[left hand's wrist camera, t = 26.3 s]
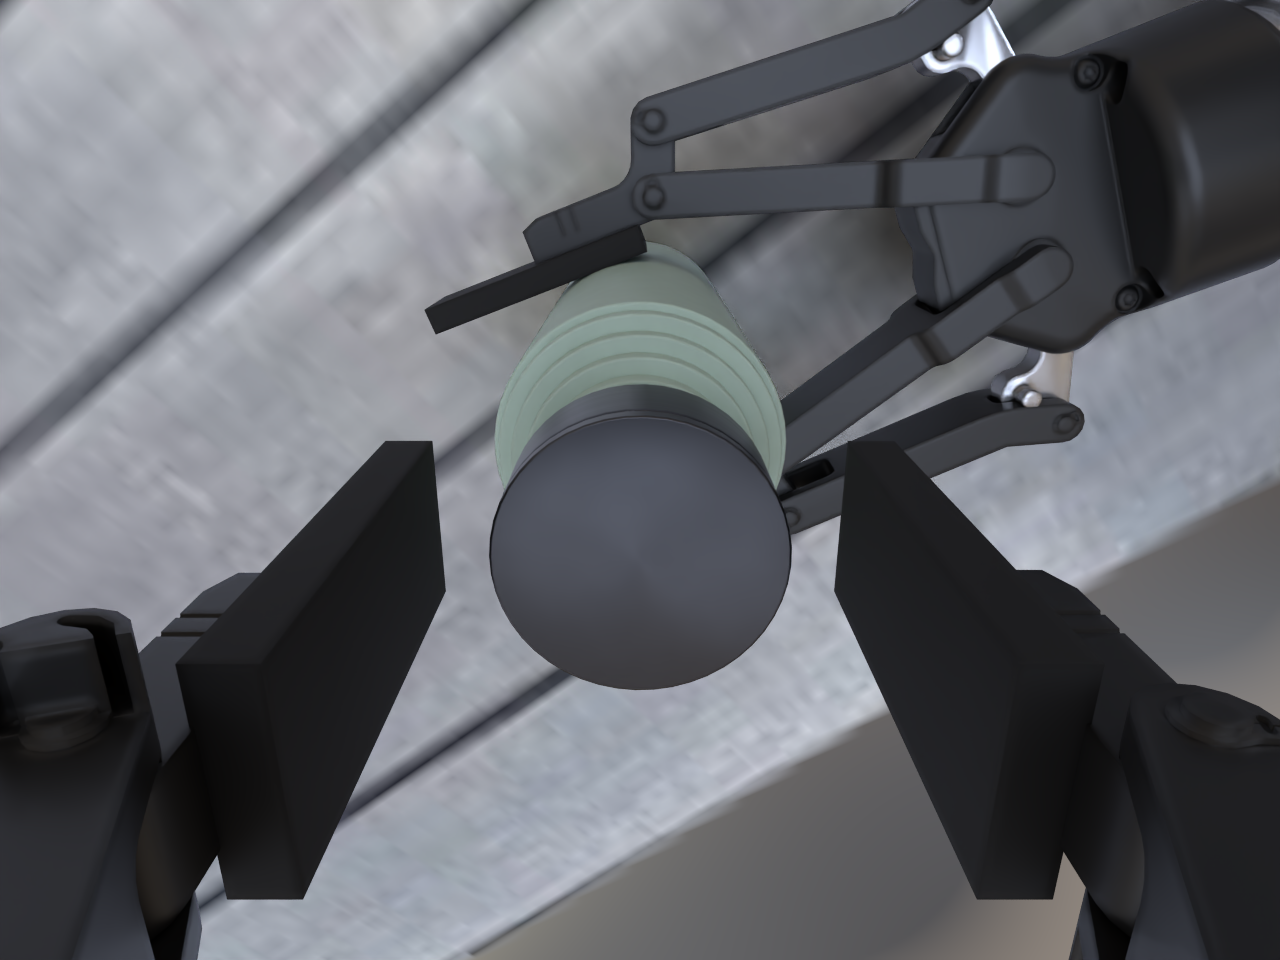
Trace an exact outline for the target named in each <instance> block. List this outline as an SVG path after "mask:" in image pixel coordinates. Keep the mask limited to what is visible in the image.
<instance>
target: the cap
mask: <svg viewBox="0 0 1280 960" xmlns="http://www.w3.org/2000/svg"><path fill="white" fill-rule="evenodd" d="M791 557H792V545H791V536H790V528H789V525H788V521H787V517H786V513H785V510H784V508H783V506H782V503H781V501H780V498H779V496H778V494H777V491H776V489H775V487H774V484H773V482H772V480H771V477H770V475H769V473H768V470H767V468H766V466H765V463H764V461H763V459H762V456H761V454H760V452H759V451H758V449H757V447H756V446H755V444H754V442H753V441H752V439H751V438H750V437H749V436H748V434H747V433H746V432H745V431H744V430H743V428H742V427H741V426H740V425H739V424H738V423H737V422H736V421H735V420H733V419H732V418H731V417H730V416H729V415H728V414H727V413H725V412H724V411H722V410H721V409H720V408H718V407H717V406H715V405H714V404H712V403H710V402H708V401H706V400H704V399H703V398H701V397H699V396H696V395H694V394H691V393H688V392H685V391H683V390H679V389H675V388H671V387H666V386H659V385H649V384H632V385H622V386H615V387H609V388H606V389H602V390H599V391H596V392H592V393H590V394H587V395H585V396H583V397H581V398H578V399H576V400H574V401H573V402H571V403H569V404H568V405H566V406H564V407H563V408H561V409H560V410H558V411H557V412H556V413H555V414H553V415H552V416H551V417H550V418H548V419H547V420H546V421H545V422H544V423H543V424H542V425H541V426H540V427H539V428H538V430H537V431H536V432H535V433H534V434H533V436H532V437H531V438H530V440H529V441H528V443H527V444H526V445H525V447H524V449H523V451H522V453H521V455H520V457H519V458H518V460H517V462H516V465H515V467H514V470H513V472H512V474H511V477H510V479H509V481H508V484H507V486H506V488H505V491H504V493H503V496H502V498H501V500H500V502H499V505H498V508H497V511H496V514H495V517H494V520H493V525H492V530H491V535H490V549H489V559H490V569H491V576H492V580H493V584H494V588H495V592H496V594H497V597H498V599H499V602H500V604H501V607H502V609H503V610H504V612H505V614H506V616H507V617H508V619H509V621H510V623H511V624H512V625H513V627H514V628H515V629H516V631H517V632H518V633H519V635H520V636H521V637H522V638H523V639H524V640H525V641H526V642H527V644H528V645H529V646H530V647H531V648H532V649H533V650H534V651H536V652H537V653H538V654H539V655H541V656H542V657H543V658H545V659H546V660H547V661H548V662H550V663H551V664H553V665H555V666H556V667H558V668H560V669H561V670H563V671H565V672H567V673H569V674H571V675H573V676H576V677H578V678H580V679H583V680H586V681H589V682H592V683H595V684H598V685H603V686H608V687H613V688H619V689H630V690H654V689H661V688H668V687H674V686H678V685H682V684H686V683H690V682H693V681H695V680H698V679H700V678H703V677H706V676H708V675H710V674H712V673H714V672H716V671H718V670H720V669H722V668H723V667H725V666H726V665H728V664H729V663H731V662H732V661H734V660H735V659H737V658H738V657H739V656H741V655H742V654H743V653H744V652H745V651H746V650H747V649H748V648H750V647H751V646H752V645H753V644H754V643H755V641H756V640H757V639H758V638H759V637H760V636H761V635H762V634H763V632H764V631H765V630H766V628H767V627H768V625H769V624H770V622H771V621H772V619H773V618H774V616H775V614H776V612H777V610H778V608H779V606H780V604H781V602H782V600H783V597H784V594H785V591H786V588H787V585H788V580H789V575H790V569H791Z"/></svg>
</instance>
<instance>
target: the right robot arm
mask: <svg viewBox="0 0 1280 960" xmlns="http://www.w3.org/2000/svg"><path fill="white" fill-rule="evenodd" d="M992 1H993V0H914V1H913V2H911V3H910V4H909V5H907V6H906V7H905V8H904V9H902V10H901V11H900V12H898V13H897V14H896V15H895V16H893V17H890V18H887V19H884V20H881V21H877V22H874V23H871V24H868V25H865V26H862V27H859V28H856V29H853V30H850V31H847V32H844V33H841V34H838V35H835V36H832V37H829V38H826V39H823V40H820V41H817V42H814V43H811V44H807V45H804V46H801V47H798V48H795V49H792V50H789V51H786V52H783V53H780V54H777V55H774V56H771V57H768V58H765V59H762V60H759V61H756V62H753V63H750V64H747V65H744V66H740V67H737V68H734V69H731V70H728V71H725V72H722V73H719V74H716V75H713V76H710V77H707V78H704V79H701V80H698V81H695V82H692V83H689V84H686V85H683V86H680V87H677V88H673V89H670V90H667V91H664V92H661V93H658V94H655V95H652V96H649V97H646V98H645V99H643V100H641V101H639V102H638V104H637V105H636V106H635V108H634V109H633V112H632V115H631V166H630V169H629V172H628V174H627V176H626V177H625V179H624V180H623V181H622V182H621V183H620V184H619V185H617V186H615V187H613V188H611V189H608V190H606V191H603V192H601V193H598V194H596V195H593V196H591V197H588V198H586V199H583V200H581V201H578V202H576V203H573V204H571V205H568V206H566V207H563V208H561V209H558V210H556V211H553V212H551V213H549V214H546V215H544V216H541V217H539V218H537V219H535V220H534V221H533V222H532V223H531V224H530V225H529V226H528V227H527V228H526V229H525V230H524V231H523V234H524V237H525V239H526V242H527V244H528V246H529V249H530V251H531V254H532V256H533V259H534V262H532V263H529V264H527V265H524V266H521V267H519V268H516V269H514V270H511V271H509V272H506V273H504V274H501V275H499V276H496V277H494V278H491V279H489V280H486V281H484V282H481V283H478V284H476V285H473V286H471V287H468V288H466V289H463V290H461V291H458V292H456V293H453V294H451V295H448V296H446V297H444V298H442V299H441V300H439V301H438V302H436V303H435V304H433V305H431V306H430V307H428V308H427V309H425V312H426V314H427V317H428V319H429V321H430V323H431V325H432V327H433V330H434V332H435V334H438V333H441V332H444V331H446V330H449V329H451V328H454V327H456V326H459V325H462V324H464V323H467V322H469V321H472V320H474V319H477V318H479V317H482V316H485V315H487V314H490V313H492V312H495V311H497V310H500V309H503V308H505V307H508V306H510V305H513V304H515V303H518V302H521V301H523V300H526V299H528V298H531V297H533V296H536V295H538V294H541V293H544V292H546V291H549V290H551V289H554V288H556V287H559V286H562V285H564V284H567V283H569V282H572V281H574V280H577V279H579V278H582V277H585V276H587V275H590V274H592V273H595V272H597V271H600V270H602V269H605V268H607V267H610V266H613V265H615V264H618V263H621V262H623V261H626V260H628V259H631V258H633V257H636V256H638V255H641V254H644V253H646V252H647V244H646V241H645V239H644V236H643V233H642V230H641V227H640V225H642V224H644V223H647V222H649V221H652V220H657V219H675V218H693V217H712V216H730V215H749V214H767V213H785V212H804V211H822V210H841V209H859V208H892V207H894V208H895V212H896V216H897V219H898V223H899V227H900V229H901V231H902V232H903V234H904V236H905V238H906V239H907V241H908V243H909V244H910V246H911V248H912V250H913V281H914V284H915V288H916V292H917V294H916V295H915V296H914V297H912V298H911V299H910V300H908V301H907V302H906V303H904V304H903V305H902V306H900V307H899V308H898V309H897V310H895V311H894V312H893V314H892V315H891V317H890V319H889V320H888V321H887V322H886V323H885V324H884V325H882V326H881V327H880V328H878V329H877V330H876V331H874V332H873V333H872V334H870V335H869V336H867V337H866V338H865V339H863V340H862V341H861V342H859V343H858V344H857V345H855V346H854V347H853V348H851V349H850V350H849V351H847V352H846V353H845V354H843V355H842V356H840V357H839V358H838V359H836V360H835V361H834V362H832V363H831V364H830V365H828V366H827V367H826V368H824V369H823V370H822V371H820V372H819V373H817V374H816V375H815V376H813V377H812V378H811V379H809V380H808V381H807V382H805V383H804V384H803V385H801V386H800V387H799V388H797V389H796V390H794V391H793V392H792V393H790V394H789V395H788V396H786V397H785V398H784V399H782V400H781V401H780V402H781V405H782V410H783V415H784V420H785V430H786V450H785V460H784V465H783V470H782V474H781V478H780V481H779V483H778V486H777V489H776V491H777V494H778V496H779V498H780V501H781V503H782V506H783V508H784V510H785V513H786V517H787V521H788V525H789V528H790V535H791V534H796V533H798V532H801V531H803V530H806V529H808V528H811V527H813V526H815V525H818V524H820V523H823V522H825V521H828V520H830V519H832V518H835V517H837V516H840V515H841V510H842V499H843V488H844V477H845V466H846V454H847V443H846V444H843V445H841V446H839V447H836V448H834V449H831V450H829V451H827V452H824V453H822V454H820V455H817V456H815V457H813V458H810V459H808V460H806V461H803V462H801V461H802V460H804V459H805V458H807V457H808V456H809V455H811V454H812V453H814V452H815V451H816V450H818V449H819V448H821V447H822V446H823V445H825V444H826V443H828V442H829V441H830V440H832V439H833V438H835V437H836V436H837V435H839V434H840V433H842V432H843V431H844V430H846V429H847V428H849V427H850V426H851V425H853V424H854V423H856V422H857V421H858V420H860V419H861V418H863V417H864V416H865V415H867V414H868V413H869V412H871V411H872V410H874V409H875V408H876V407H878V406H879V405H881V404H882V403H883V402H885V401H886V400H888V399H889V398H890V397H892V396H893V395H895V394H896V393H897V392H899V391H900V390H902V389H903V388H904V387H906V386H907V385H909V384H910V383H911V382H913V381H914V380H916V379H917V378H918V377H920V376H921V375H923V374H924V373H925V372H927V371H928V370H930V369H931V368H933V367H935V366H939V365H944V364H946V363H949V362H951V361H953V360H954V359H956V358H957V357H959V356H960V355H962V354H963V353H964V352H966V351H967V350H969V349H970V348H971V347H973V346H974V345H976V344H977V343H978V342H980V341H981V340H983V339H984V338H985V337H987V336H989V337H992V338H996V339H999V340H1003V341H1006V342H1010V343H1013V344H1017V345H1021V346H1024V347H1028V350H1027V354H1026V356H1025V357H1024V359H1023V360H1022V361H1021V362H1020V363H1019V364H1018V365H1016V366H1015V367H1012V368H1009V369H1007V370H1004V371H1002V372H1000V373H999V374H997V375H995V377H994V378H993V380H992V385H991V388H990V389H982V390H977V391H973V392H969V393H965V394H963V395H960V396H957V397H954V398H952V399H949V400H947V401H945V402H942V403H940V404H938V405H935V406H933V407H931V408H928V409H926V410H923V411H921V412H919V413H916V414H914V415H912V416H909V417H907V418H905V419H902V420H900V421H898V422H895V423H893V424H890V425H888V426H886V427H883V428H881V429H879V430H876V431H874V432H872V433H869V434H867V435H864V436H862V437H860V438H857V439H855V440H853V441H895V442H896V443H897V444H898V445H899V446H900V448H901V449H902V450H903V451H904V452H905V453H906V454H907V455H908V456H909V457H910V458H911V459H912V460H913V461H914V462H915V463H916V464H917V466H918V467H919V468H920V469H921V470H922V471H923V472H924V473H925V474H926V475H927V476H928V477H929V478H932V477H935V476H937V475H939V474H942V473H944V472H947V471H949V470H952V469H954V468H956V467H959V466H961V465H964V464H966V463H969V462H971V461H973V460H976V459H978V458H981V457H983V456H986V455H988V454H991V453H993V452H995V451H998V450H1000V449H1003V448H1005V447H1010V446H1022V445H1035V444H1048V443H1060V442H1066V441H1070V440H1072V439H1073V438H1075V437H1076V436H1077V435H1078V434H1079V433H1080V431H1081V430H1082V428H1083V425H1084V414H1083V413H1082V411H1081V409H1080V408H1078V407H1076V406H1075V405H1073V404H1071V403H1069V395H1070V384H1071V374H1072V363H1073V353H1074V351H1075V350H1077V349H1079V348H1081V347H1083V346H1084V345H1086V344H1087V343H1088V342H1089V341H1091V340H1092V339H1093V337H1094V336H1095V335H1096V334H1097V333H1098V332H1100V331H1101V330H1102V329H1103V328H1104V327H1106V326H1107V325H1108V324H1110V323H1111V322H1113V321H1114V320H1116V319H1118V318H1120V317H1122V316H1125V315H1128V314H1131V313H1135V312H1138V311H1142V310H1145V309H1148V308H1151V307H1155V306H1158V305H1160V304H1163V303H1166V302H1169V301H1172V300H1174V299H1177V298H1180V297H1183V296H1186V295H1189V294H1191V293H1194V292H1197V291H1200V290H1203V289H1205V288H1208V287H1211V286H1214V285H1217V284H1220V283H1222V282H1225V281H1228V280H1231V279H1234V278H1237V277H1239V276H1242V275H1245V274H1248V273H1251V272H1253V271H1256V270H1259V269H1262V268H1265V267H1267V266H1269V265H1271V264H1273V263H1274V262H1276V261H1277V260H1278V259H1280V0H1206V1H1201V2H1197V3H1195V4H1192V5H1189V6H1187V7H1184V8H1182V9H1179V10H1177V11H1174V12H1172V13H1169V14H1167V15H1164V16H1162V17H1159V18H1156V19H1154V20H1151V21H1149V22H1146V23H1144V24H1141V25H1139V26H1136V27H1134V28H1131V29H1129V30H1126V31H1124V32H1121V33H1118V34H1116V35H1113V36H1111V37H1108V38H1106V39H1103V40H1101V41H1098V42H1096V43H1093V44H1091V45H1088V46H1085V47H1083V48H1080V49H1078V50H1075V51H1073V52H1070V53H1068V54H1065V55H1062V56H1059V57H1045V56H1039V55H1035V54H1019V55H1015V54H1014V52H1013V50H1012V48H1011V46H1010V44H1009V43H1008V41H1007V39H1006V37H1005V35H1004V33H1003V31H1002V29H1001V27H1000V26H999V24H998V22H997V20H996V18H995V16H994V14H993V12H992V10H991V9H990V7H989V6H990V5H991V4H992ZM910 62H911V63H912V65H913V66H914V68H915V69H916V70H917V72H918V73H920V74H922V75H923V76H927V77H933V76H938V75H941V74H944V73H947V72H949V71H957V72H961V73H962V74H964V75H965V76H966V77H967V78H968V79H969V81H970V83H969V84H968V86H967V87H966V89H965V90H964V91H963V93H962V94H961V95H960V97H959V98H958V100H957V101H956V102H955V104H954V105H953V107H952V108H951V109H950V111H949V112H948V114H947V115H946V116H945V118H944V119H943V120H942V122H941V123H940V125H939V126H938V127H937V129H936V130H935V132H934V133H933V134H932V136H931V137H930V139H929V140H928V141H927V143H926V144H925V145H924V147H923V148H922V150H921V151H920V152H919V154H918V155H917V157H916V158H915V159H900V160H882V161H864V162H847V163H829V164H811V165H792V166H774V167H756V168H738V169H720V170H702V171H684V172H675V141H677V140H680V139H683V138H686V137H689V136H693V135H696V134H699V133H702V132H705V131H708V130H711V129H714V128H717V127H721V126H724V125H727V124H730V123H733V122H736V121H739V120H742V119H745V118H748V117H752V116H755V115H758V114H761V113H764V112H767V111H770V110H773V109H776V108H780V107H783V106H786V105H789V104H792V103H795V102H798V101H801V100H804V99H807V98H811V97H814V96H817V95H820V94H823V93H826V92H829V91H832V90H835V89H839V88H842V87H845V86H848V85H851V84H854V83H857V82H860V81H863V80H867V79H870V78H872V77H875V76H877V75H880V74H883V73H885V72H888V71H890V70H893V69H895V68H897V67H900V66H902V65H905V64H907V63H910ZM800 462H801V463H800Z"/></svg>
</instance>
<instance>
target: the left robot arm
mask: <svg viewBox="0 0 1280 960" xmlns="http://www.w3.org/2000/svg"><path fill="white" fill-rule="evenodd" d="M445 592H446V588H445V577H444V566H443V555H442V544H441V533H440V521H439V510H438V499H437V488H436V477H435V466H434V454H433V443H432V441H385V442H384V443H383V444H382V445H381V446H380V448H379V449H378V450H377V451H376V452H375V453H374V454H373V455H372V456H371V457H370V458H369V459H368V460H367V461H366V462H365V463H364V464H363V466H362V467H361V468H360V469H359V470H358V471H357V472H356V473H355V474H354V475H353V476H352V477H351V478H350V479H349V480H348V481H347V482H346V484H345V485H344V486H343V487H342V488H341V489H340V490H339V491H338V492H337V493H336V494H335V495H334V496H333V497H332V498H331V499H330V500H329V502H328V503H327V504H326V505H325V506H324V507H323V508H322V509H321V510H320V511H319V512H318V513H317V514H316V515H315V516H314V517H313V518H312V520H311V521H310V522H309V523H308V524H307V525H306V526H305V527H304V528H303V529H302V530H301V531H300V532H299V533H298V534H297V535H296V536H295V538H294V539H293V540H292V541H291V542H290V543H289V544H288V545H287V546H286V547H285V548H284V549H283V550H282V551H281V552H280V553H279V554H278V556H277V557H276V558H275V559H274V560H273V561H272V562H271V563H270V564H269V565H268V566H267V567H266V568H265V569H264V570H263V571H262V572H261V573H237V574H236V575H234V576H232V577H230V578H228V579H226V580H224V581H222V582H220V583H219V584H217V585H215V586H213V587H211V588H209V589H207V590H205V591H203V592H202V593H201V594H200V595H199V596H198V597H197V598H196V599H195V600H194V601H193V602H192V603H191V604H190V605H189V606H188V607H187V608H186V609H185V610H184V611H182V612H181V613H180V618H175V619H174V620H173V621H172V622H171V623H170V624H169V625H168V626H167V627H166V628H165V629H164V630H163V631H162V632H161V637H155V638H154V639H153V640H152V641H151V642H150V643H149V644H148V645H147V646H146V647H145V648H144V649H143V650H142V651H141V652H140V653H139V654H138V649H137V645H136V641H135V637H134V633H133V628H132V624H131V620H130V619H128V618H127V617H125V616H124V615H122V614H121V613H119V612H118V611H111V610H104V609H97V608H90V609H75V610H63V611H58V612H54V613H49V614H44V615H39V616H35V617H30V618H28V619H25V620H22V621H19V622H16V623H13V624H10V625H8V626H5V627H2V628H0V960H197V958H198V951H199V945H200V938H201V932H202V925H201V917H200V910H199V906H198V902H197V898H196V893H195V890H196V888H197V887H198V885H199V883H200V882H201V880H202V879H203V877H204V875H205V874H206V872H207V870H208V869H209V867H210V866H211V864H212V862H213V861H214V859H215V858H216V856H218V860H219V865H220V869H221V874H222V878H223V883H224V887H225V892H226V896H227V899H303V898H304V896H305V894H306V892H307V890H308V888H309V885H310V883H311V881H312V879H313V877H314V875H315V872H316V870H317V868H318V866H319V864H320V862H321V859H322V857H323V855H324V853H325V851H326V849H327V847H328V844H329V842H330V840H331V838H332V836H333V834H334V831H335V829H336V827H337V825H338V823H339V821H340V818H341V816H342V814H343V812H344V810H345V808H346V805H347V803H348V801H349V799H350V797H351V795H352V793H353V790H354V788H355V786H356V784H357V782H358V780H359V777H360V775H361V773H362V771H363V769H364V767H365V764H366V762H367V760H368V758H369V756H370V754H371V751H372V749H373V747H374V745H375V743H376V741H377V739H378V736H379V734H380V732H381V730H382V728H383V726H384V723H385V721H386V719H387V717H388V715H389V713H390V710H391V708H392V706H393V704H394V702H395V700H396V698H397V695H398V693H399V691H400V689H401V687H402V685H403V682H404V680H405V678H406V676H407V674H408V672H409V669H410V667H411V665H412V663H413V661H414V659H415V656H416V654H417V652H418V650H419V648H420V646H421V644H422V641H423V639H424V637H425V635H426V633H427V631H428V628H429V626H430V624H431V622H432V620H433V618H434V615H435V613H436V611H437V609H438V607H439V605H440V602H441V600H442V598H443V596H444V594H445ZM834 592H835V594H836V596H837V598H838V600H839V602H840V605H841V607H842V609H843V611H844V613H845V615H846V618H847V620H848V622H849V624H850V626H851V628H852V631H853V633H854V635H855V637H856V639H857V641H858V644H859V646H860V648H861V650H862V652H863V654H864V656H865V659H866V661H867V663H868V665H869V667H870V669H871V672H872V674H873V676H874V678H875V680H876V682H877V685H878V687H879V689H880V691H881V693H882V695H883V698H884V700H885V702H886V704H887V706H888V708H889V710H890V713H891V715H892V717H893V719H894V721H895V723H896V725H897V728H898V730H899V732H900V734H901V736H902V738H903V741H904V743H905V745H906V747H907V749H908V751H909V754H910V756H911V758H912V760H913V762H914V764H915V767H916V769H917V771H918V773H919V775H920V777H921V779H922V782H923V784H924V786H925V788H926V790H927V792H928V795H929V797H930V799H931V801H932V803H933V805H934V808H935V810H936V812H937V814H938V816H939V818H940V821H941V823H942V825H943V827H944V829H945V831H946V834H947V836H948V838H949V840H950V842H951V844H952V846H953V849H954V851H955V853H956V855H957V857H958V859H959V862H960V864H961V866H962V868H963V870H964V872H965V875H966V877H967V879H968V881H969V883H970V885H971V888H972V890H973V892H974V894H975V896H976V898H977V899H1053V896H1054V892H1055V887H1056V883H1057V878H1058V873H1059V869H1060V865H1061V860H1062V856H1063V851H1064V853H1065V855H1066V856H1067V858H1068V859H1069V861H1070V863H1071V864H1072V866H1073V867H1074V869H1075V871H1076V872H1077V874H1078V875H1079V877H1080V879H1081V880H1082V882H1083V884H1084V885H1085V887H1086V889H1085V893H1084V898H1083V902H1082V906H1081V910H1080V914H1079V919H1078V923H1077V927H1076V931H1075V935H1074V940H1073V944H1072V948H1071V952H1070V956H1069V960H1280V720H1279V719H1278V718H1276V717H1275V716H1273V715H1272V714H1270V713H1268V712H1267V711H1265V710H1264V709H1262V708H1260V707H1259V706H1257V705H1254V704H1252V703H1249V702H1247V701H1245V700H1242V699H1240V698H1237V697H1235V696H1233V695H1230V694H1228V693H1224V692H1220V691H1216V690H1212V689H1208V688H1204V687H1200V686H1196V685H1186V684H1177V683H1176V682H1175V681H1174V680H1173V679H1172V678H1171V677H1170V676H1169V675H1167V674H1166V673H1165V672H1164V671H1163V670H1162V669H1161V668H1160V667H1159V666H1158V665H1157V664H1156V663H1155V662H1154V661H1153V660H1152V659H1151V658H1150V657H1149V656H1148V655H1147V654H1145V653H1144V652H1143V651H1142V650H1141V649H1140V648H1139V647H1138V646H1137V645H1136V644H1135V643H1134V642H1133V641H1132V640H1131V639H1130V638H1129V637H1128V636H1127V635H1126V634H1124V633H1120V632H1119V628H1118V627H1117V626H1116V625H1115V624H1114V623H1113V622H1112V621H1111V620H1110V619H1109V618H1108V617H1107V616H1106V615H1101V614H1100V610H1099V609H1098V608H1097V607H1096V606H1095V605H1094V604H1093V603H1092V602H1091V601H1090V600H1089V599H1088V598H1087V597H1086V596H1085V595H1084V594H1083V593H1081V592H1080V591H1079V590H1078V589H1077V588H1075V587H1073V586H1071V585H1070V584H1068V583H1066V582H1064V581H1062V580H1060V579H1058V578H1056V577H1054V576H1052V575H1050V574H1049V573H1047V572H1045V571H1043V570H1016V569H1015V568H1014V567H1013V566H1012V565H1011V564H1010V563H1009V562H1008V561H1007V560H1006V559H1005V558H1004V557H1003V556H1002V554H1001V553H1000V552H999V551H998V550H997V549H996V548H995V547H994V546H993V545H992V544H991V543H990V542H989V541H988V540H987V539H986V538H985V536H984V535H983V534H982V533H981V532H980V531H979V530H978V529H977V528H976V527H975V526H974V525H973V524H972V523H971V522H970V521H969V520H968V518H967V517H966V516H965V515H964V514H963V513H962V512H961V511H960V510H959V509H958V508H957V507H956V506H955V505H954V504H953V503H952V502H951V500H950V499H949V498H948V497H947V496H946V495H945V494H944V493H943V492H942V491H941V490H940V489H939V488H938V487H937V486H936V485H935V484H934V482H933V481H932V480H931V479H930V478H929V477H928V476H927V475H926V474H925V473H924V472H923V471H922V470H921V469H920V468H919V467H918V466H917V464H916V463H915V462H914V461H913V460H912V459H911V458H910V457H909V456H908V455H907V454H906V453H905V452H904V451H903V450H902V449H901V448H900V446H899V445H898V444H897V443H896V442H895V441H848V443H847V454H846V466H845V477H844V488H843V499H842V510H841V521H840V533H839V544H838V555H837V566H836V577H835V588H834Z"/></svg>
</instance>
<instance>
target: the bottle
mask: <svg viewBox="0 0 1280 960" xmlns="http://www.w3.org/2000/svg"><path fill="white" fill-rule="evenodd" d="M646 244H647V252H646V253H644V254H641V255H638V256H636V257H633V258H631V259H628V260H626V261H623V262H621V263H618V264H615V265H613V266H610V267H607V268H605V269H602V270H600V271H597V272H595V273H592V274H590V275H587V276H585V277H582V278H579V279H577V280H574V281H572V282H570V283H569V285H568V286H567V288H566V289H565V291H564V292H563V294H562V296H561V297H560V299H559V300H558V302H557V304H556V305H555V307H554V308H553V310H552V311H551V313H550V315H549V316H548V318H547V319H546V321H545V322H544V324H543V326H542V327H541V329H540V330H539V332H538V333H537V335H536V337H535V338H534V340H533V341H532V343H531V345H530V346H529V348H528V349H527V351H526V352H525V354H524V356H523V357H522V359H521V360H520V362H519V363H518V365H517V367H516V368H515V370H514V372H513V374H512V376H511V377H510V379H509V381H508V383H507V385H506V388H505V390H504V393H503V396H502V398H501V401H500V405H499V409H498V414H497V418H496V428H495V455H496V461H497V466H498V471H499V475H500V478H501V481H502V484H503V487H504V490H505V488H506V486H507V484H508V481H509V479H510V477H511V474H512V472H513V470H514V467H515V465H516V462H517V460H518V458H519V457H520V455H521V453H522V451H523V449H524V447H525V445H526V444H527V443H528V441H529V440H530V438H531V437H532V436H533V434H534V433H535V432H536V431H537V430H538V428H539V427H540V426H541V425H542V424H543V423H544V422H545V421H546V420H547V419H548V418H550V417H551V416H552V415H553V414H555V413H556V412H557V411H558V410H560V409H561V408H563V407H564V406H566V405H568V404H569V403H571V402H573V401H574V400H576V399H578V398H581V397H583V396H585V395H587V394H590V393H592V392H596V391H599V390H602V389H606V388H609V387H615V386H622V385H632V384H649V385H659V386H666V387H671V388H675V389H679V390H683V391H685V392H688V393H691V394H694V395H696V396H699V397H701V398H703V399H704V400H706V401H708V402H710V403H712V404H714V405H715V406H717V407H718V408H720V409H721V410H722V411H724V412H725V413H727V414H728V415H729V416H730V417H731V418H732V419H733V420H735V421H736V422H737V423H738V424H739V425H740V426H741V427H742V428H743V430H744V431H745V432H746V433H747V434H748V436H749V437H750V438H751V439H752V441H753V442H754V444H755V446H756V447H757V449H758V451H759V452H760V454H761V456H762V459H763V461H764V463H765V466H766V468H767V470H768V473H769V475H770V477H771V480H772V482H773V484H774V487H775V489H777V486H778V483H779V481H780V478H781V474H782V470H783V465H784V460H785V450H786V430H785V420H784V415H783V410H782V405H781V402H780V399H779V396H778V393H777V391H776V388H775V386H774V384H773V382H772V380H771V378H770V376H769V374H768V372H767V370H766V369H765V367H764V365H763V364H762V362H761V361H760V359H759V358H758V356H757V354H756V353H755V351H754V350H753V348H752V347H751V345H750V343H749V342H748V340H747V339H746V337H745V336H744V334H743V332H742V331H741V329H740V328H739V326H738V325H737V323H736V321H735V320H734V318H733V317H732V315H731V314H730V312H729V310H728V309H727V307H726V306H725V304H724V303H723V301H722V299H721V298H720V296H719V295H718V293H717V292H716V290H715V288H714V287H713V285H712V284H711V282H710V281H709V279H708V278H707V276H706V275H705V273H704V272H703V271H702V270H701V269H700V268H699V266H698V265H697V264H696V263H695V262H693V261H692V260H691V259H690V258H689V257H687V256H686V255H684V254H683V253H681V252H679V251H678V250H675V249H673V248H671V247H669V246H666V245H662V244H659V243H653V242H646Z"/></svg>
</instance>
